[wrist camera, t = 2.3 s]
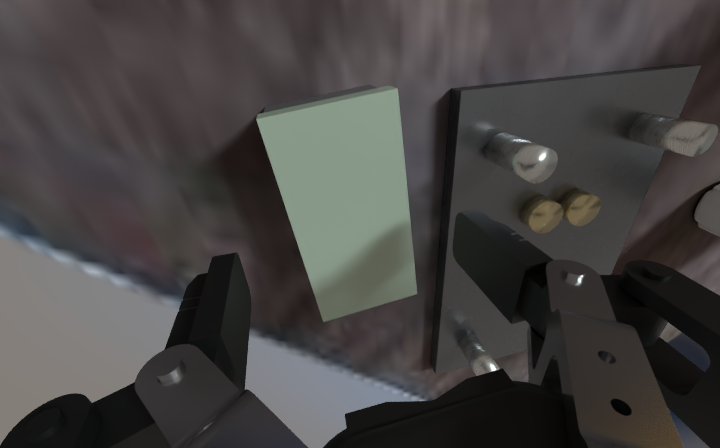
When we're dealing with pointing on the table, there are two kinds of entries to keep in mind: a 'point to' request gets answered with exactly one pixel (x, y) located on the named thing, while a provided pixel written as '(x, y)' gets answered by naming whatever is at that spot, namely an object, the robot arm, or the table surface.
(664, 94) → the plate
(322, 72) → the table surface
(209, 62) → the table surface
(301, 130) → the grey green block
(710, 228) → the photo printer
